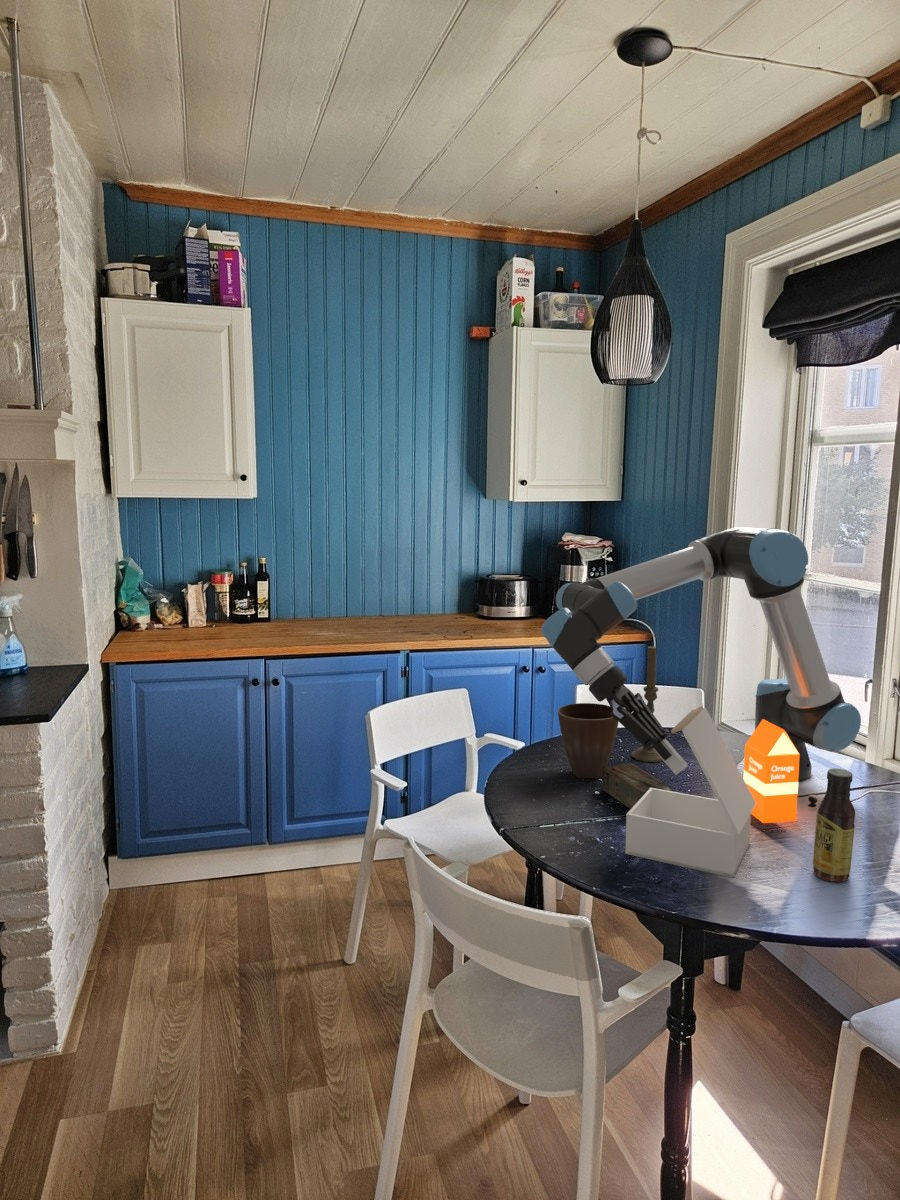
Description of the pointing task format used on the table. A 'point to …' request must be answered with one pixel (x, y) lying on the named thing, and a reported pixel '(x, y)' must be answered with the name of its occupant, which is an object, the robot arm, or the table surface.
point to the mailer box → (685, 832)
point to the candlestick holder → (649, 706)
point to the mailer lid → (718, 766)
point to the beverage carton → (629, 783)
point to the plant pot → (587, 737)
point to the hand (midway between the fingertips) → (681, 770)
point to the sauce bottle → (835, 829)
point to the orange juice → (772, 773)
